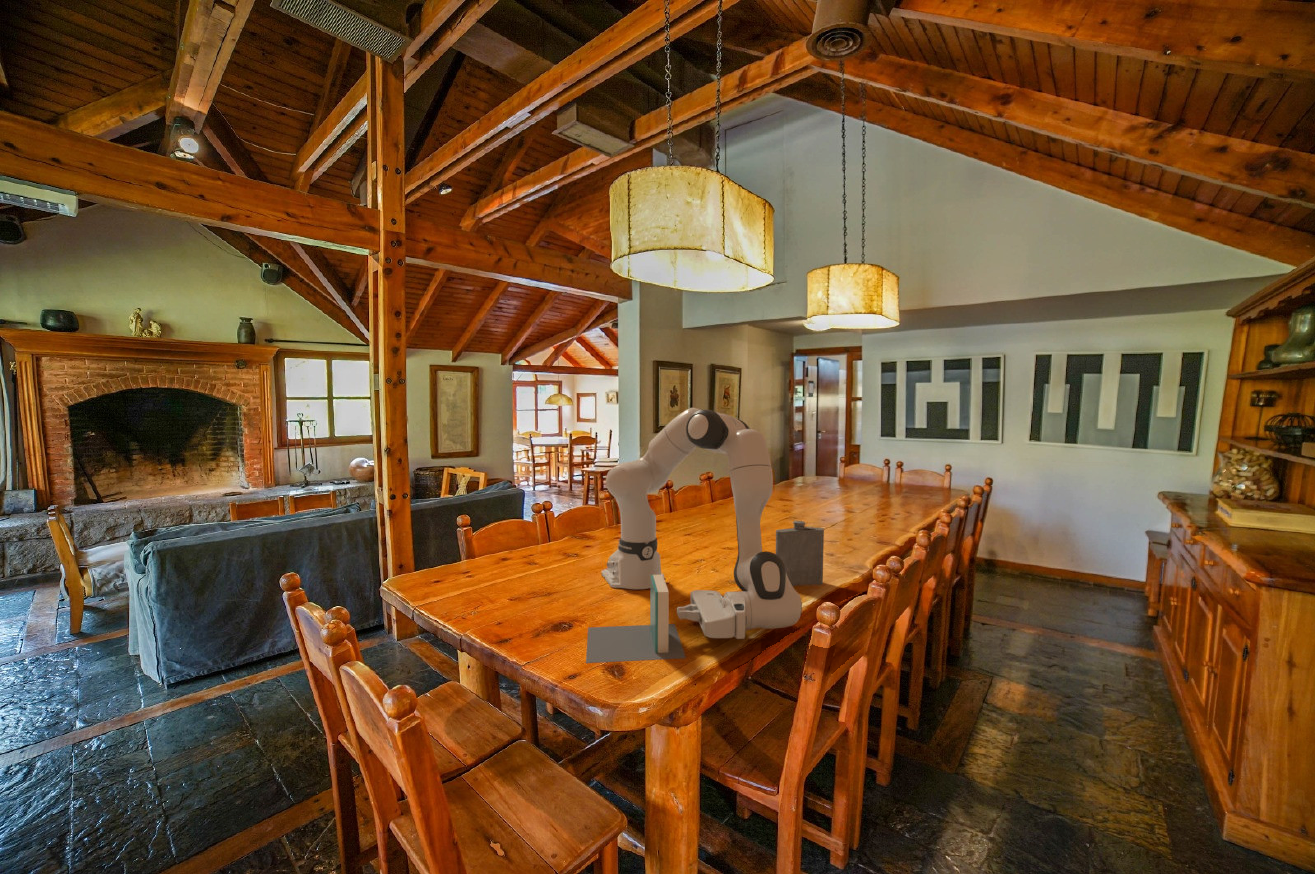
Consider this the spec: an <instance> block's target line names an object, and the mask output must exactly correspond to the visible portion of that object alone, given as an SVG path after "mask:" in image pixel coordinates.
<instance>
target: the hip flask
mask: <svg viewBox="0 0 1315 874" xmlns="http://www.w3.org/2000/svg"><path fill="white" fill-rule="evenodd" d="M805 525H806V522H805V521H803V520H794V521H793V528H783V529H782V528H781V529H776V530H775V554H776V555H777V556H779V557H780V558H781V560H782V561H783V563H784V565H785V569H786V573H787V576H788V579H789V581H790V583H791V585H792V586H793V587H795V586H796V587H798V586H797V585H799V586H816V585H817V586H819V585H820V586H821V585H823V583H824V582H823V580H824V579H823V578H824V543H825V542H824V541H825V528H821V527H813V526H805Z"/></svg>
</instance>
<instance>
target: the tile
mask: <svg viewBox="0 0 1315 874" xmlns="http://www.w3.org/2000/svg"><path fill="white" fill-rule="evenodd" d="M663 574H664V573H662V575H650V588H649V589H650V590H649V591H650V593H649V594H650V595H649V596H650V597H649V598H650V600H649V601H650V611H649V612H650V614H649V616H650V619H649V620H650V622H649V623H650V624H649V625H650V631H651V635H652V640H653V645H654V649H655V653H665V652H668V630H669V624H670V623H669V621H670V619H669V617H670V616H669V615H670V614H669V611H670V609H669V607H670V606H669V605H670V602H669V601H670V596H669V595H670V594H669V593H670V592H669V588H668V586H667V583H666V581H665V576H664V577H663Z"/></svg>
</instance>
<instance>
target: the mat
mask: <svg viewBox="0 0 1315 874" xmlns="http://www.w3.org/2000/svg"><path fill="white" fill-rule="evenodd" d="M585 655H586V657H585V658H586V659H585V663H586V664H598V663H599V664H600V663H616V662H618V663H619V662H634V661H636V662H637V661H639V662H641V661H654V660H655V661H656V660H657V661H658V660H678V659H687V656H686V654H685V650H684V648H683V645H682V642H681V638H680V636H679V633H678V630H677V627H676V624H675V623H669V630H668V652H665V653H655V649H654V645H653V640H652V635H651V631H650V624H643V625H642V624H641V625H638V624H637V625H617V626H616V625H615V626H595V627H594V626H592V627H588V628H587V642H586V654H585Z"/></svg>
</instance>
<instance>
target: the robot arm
mask: <svg viewBox="0 0 1315 874" xmlns="http://www.w3.org/2000/svg"><path fill="white" fill-rule="evenodd" d="M764 437H765V436H763V434H762V433H761V432H760V431H758V430H756V429H753V428H752V429H751V428H750V426H749V425H748V424H747V423H746V422H744V421H743V420H741V419H738V418H735V417H734V416H732V415H729V414H727V413H722V412H718V411H715V410H712V409H700V408H697V407H690V408H687V409H685V410H684V411H682V412H680V413H679V414H678V415H677V416H675V417H674V418H673V419H672V420H670V421H669V423H667V424H666V425H665V426H664V427H662V430H660V431H659V432H658V433H657V434H656V435H655V436H654V437H653V438H652V439H651V440H650V441H649V443H648V449H647V450H646V452H645V454H643V456H642V457H640V458H638V459H636V460H632V461H626V462H621V463H619V464H617V465H615V466H613V467H611V468H610V470H608V472H607V474H606V478H605V485H606V488H607V490H608V492H609V493H610V494H611V495H612V496H613V497H614V499H615V501H616V503H617V506H618V508H619V509H618V510H619V513H620V514H619V515H620V537H618V546H617V550H615V552H613V553H612V554H611V555H610V556H609V557H608V561H607V562H606V567H607V568H604V569H602V570H601V573H602V574H601V576H603V578H604V577H605V578H604V579H605V581H606V582H607V583H608V585H609V586H610V587H611V588H615V589H628V590H645V589H650V575H662V574H663V577H664V578H665V574H664V573H662V568H661V567H662V566H661V565H662V564H661V554H660V553H659V552H658V551H657V550H658V538H657V515H656V512H655V511H654V510H653V509H652V508H651V506H650V503H649V499H648V494H651V493H654V492H657V491H658V490H659V491H660V489H661V488H663V487H665V485H666V484H667V483H668V482H669V481H668V480H669V477H670V476H671V474H672V473H673V471H674V470H675V469H676V468H677V467H678V466H679V465H680V464H681V463H682V462H683V461H684V460H685V459H686V458H687V457H689V455H690V454H692V453H693V452H694V450H696V448H701V449H703V450H707V451H709V452H712V453H716V454H718V453H719V454H724V455H726V457H727V462H728V470H729V479H730V484H731V485H730V486H731V490H732V495H733V496H732V497H733V504H734V511H735V519H736V520H735V522H736V523H735V524H736V537H737V552H738V553H737V558H736V562H735V565H734V568H733V578H734V582H735V584H736V586H737V587H738V588H739V590H740V591H726V592H724V595H722V594H721V593H720V591H717V590H707V589H695V590H694V589H693V590H692V591H691V592H690V596H689V598H690V602H689V603H690V604H687V605H685V606H678V607H677V608H676V614H677V617H678V619H679V620H689V621H692V622H698V624H699V626H700V628H701V631H702V632H703V635H704V636H705V637H707V638H710V639H731V638H735V639H736V640H744V639H745V638H746V631H748V630H749V631H750V630H753V629H756V628H760V629H765V630H769V629H772V630H773V629H774V630H775V629H780V628H788V627H792V626H793V625H795V624H796V623H798V621H799V620H800V618H801V615H802V611H803V610H802V609H803V601H802V599H801V595H800V594H799V593H798V592H797V590H795V588H794V586H792V585H791V583H790V581H789V579H788V576H787V573H786V569H785V565H784V563H783V561H782V560H781V558H780V557H779V556H777V555H776V553H774V552H772V551H763V546H762V544H763V543H762V532H761V518H762V514H763V511H764V510H765V508H766V505H767V503H768V501H769V500H770V498H771V497H772V495H773V489H774V487H773V486H774V475H773V474H774V473H773V468H772V462H771V456H770V452H769V449H768V445H767V442H766V439H765V438H764Z"/></svg>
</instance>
